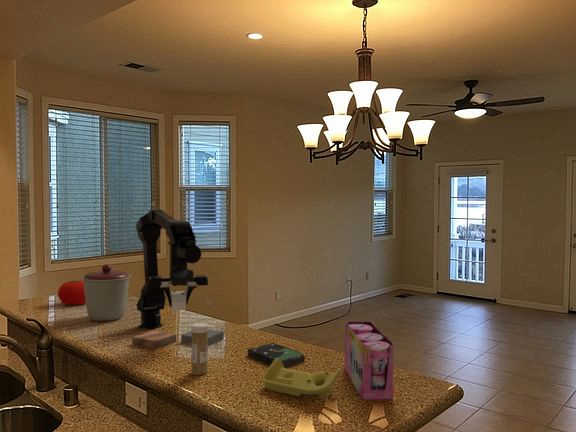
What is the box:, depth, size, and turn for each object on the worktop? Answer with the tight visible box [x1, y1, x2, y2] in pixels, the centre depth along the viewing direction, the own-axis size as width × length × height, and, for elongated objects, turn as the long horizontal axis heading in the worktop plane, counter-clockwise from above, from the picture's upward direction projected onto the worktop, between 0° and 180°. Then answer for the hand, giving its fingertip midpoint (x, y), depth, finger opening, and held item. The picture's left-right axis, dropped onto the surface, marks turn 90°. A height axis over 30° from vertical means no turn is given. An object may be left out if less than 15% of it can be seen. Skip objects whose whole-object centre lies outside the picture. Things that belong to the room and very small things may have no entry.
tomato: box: [57, 280, 86, 306], centre depth 217 cm, size 14×13×10 cm
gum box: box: [343, 321, 394, 400], centre depth 131 cm, size 24×8×14 cm, turn 5°
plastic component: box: [261, 359, 342, 400], centre depth 126 cm, size 20×7×10 cm
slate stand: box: [180, 328, 225, 347], centre depth 167 cm, size 10×10×2 cm
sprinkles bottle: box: [190, 322, 209, 376], centre depth 137 cm, size 5×5×14 cm
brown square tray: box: [131, 329, 177, 350], centre depth 163 cm, size 10×10×2 cm
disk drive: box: [247, 342, 306, 368], centre depth 150 cm, size 10×3×15 cm
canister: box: [80, 263, 132, 322], centre depth 194 cm, size 18×18×21 cm
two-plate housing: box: [170, 290, 187, 311], centre depth 165 cm, size 6×4×5 cm
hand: (178, 306), depth 165 cm, fingers closed on two-plate housing, 4 cm apart
